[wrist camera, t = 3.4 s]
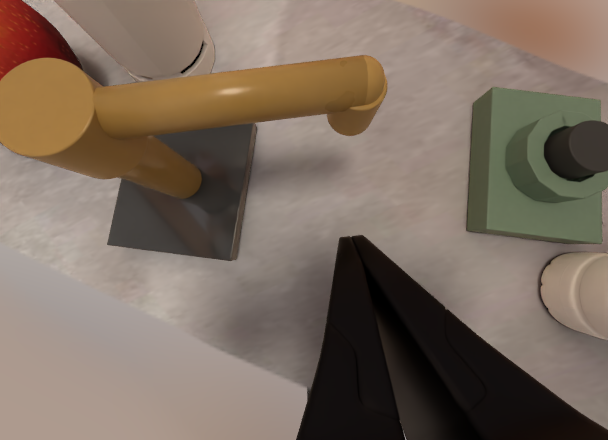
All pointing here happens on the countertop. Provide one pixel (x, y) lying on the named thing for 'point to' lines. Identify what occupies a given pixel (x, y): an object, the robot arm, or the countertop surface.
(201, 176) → the tap base
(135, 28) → the bottle
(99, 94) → the spout
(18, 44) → the fruit
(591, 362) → the countertop surface
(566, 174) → the dark round button
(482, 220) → the green button mount
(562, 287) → the water bottle
